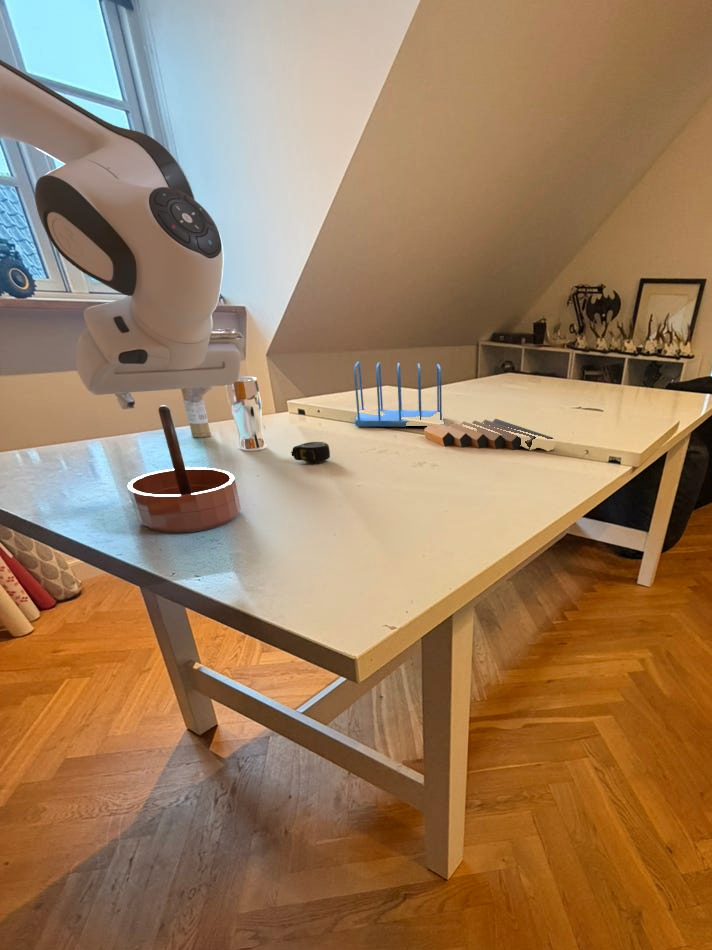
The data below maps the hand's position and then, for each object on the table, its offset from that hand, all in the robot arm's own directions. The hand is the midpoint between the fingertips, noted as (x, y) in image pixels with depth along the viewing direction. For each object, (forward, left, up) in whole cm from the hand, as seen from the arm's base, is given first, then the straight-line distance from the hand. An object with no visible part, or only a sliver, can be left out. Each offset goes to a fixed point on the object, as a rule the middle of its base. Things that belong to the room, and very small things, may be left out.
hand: (160, 401), depth 80 cm
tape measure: (+26, +27, -18) cm, 42 cm away
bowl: (0, -1, -18) cm, 18 cm away
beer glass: (+16, +43, -18) cm, 50 cm away
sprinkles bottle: (+6, +59, -18) cm, 62 cm away
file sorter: (+60, +62, -18) cm, 88 cm away
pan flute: (+72, +29, -18) cm, 80 cm away
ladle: (0, -1, -17) cm, 17 cm away
